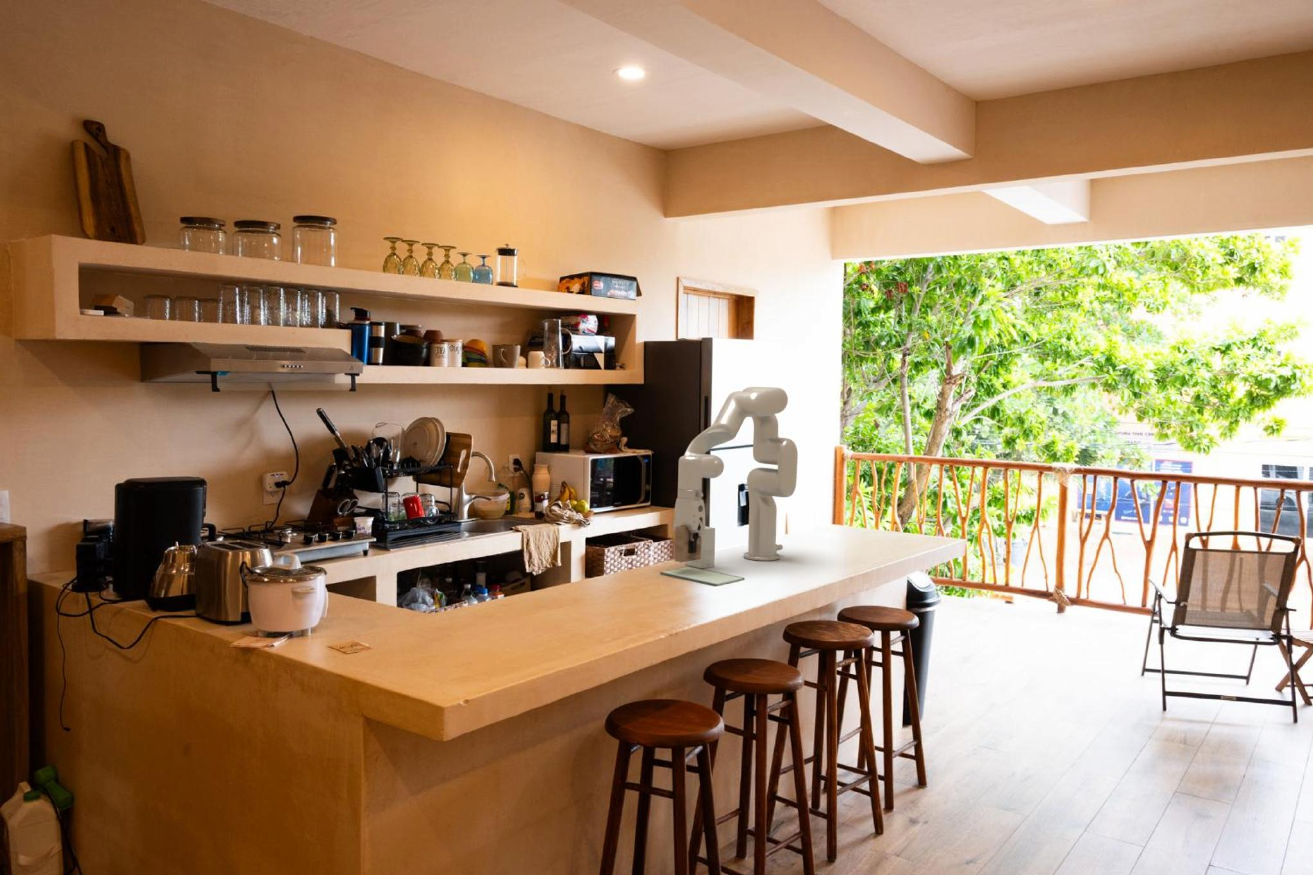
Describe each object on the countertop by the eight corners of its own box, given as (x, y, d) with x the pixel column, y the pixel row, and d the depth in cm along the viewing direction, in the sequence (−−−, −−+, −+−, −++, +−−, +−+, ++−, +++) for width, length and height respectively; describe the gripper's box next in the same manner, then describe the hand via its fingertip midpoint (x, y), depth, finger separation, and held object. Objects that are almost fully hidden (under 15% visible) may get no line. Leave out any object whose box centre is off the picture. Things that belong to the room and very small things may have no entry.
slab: (693, 557, 312) (694, 523, 311) (700, 559, 310) (701, 525, 309) (674, 560, 305) (675, 526, 305) (681, 562, 303) (682, 527, 303)
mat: (689, 568, 317) (689, 566, 317) (744, 579, 301) (744, 577, 301) (660, 574, 307) (660, 572, 307) (715, 586, 291) (715, 584, 291)
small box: (714, 566, 321) (715, 527, 320) (700, 568, 317) (701, 529, 316) (698, 562, 327) (699, 524, 326) (684, 564, 323) (685, 526, 322)
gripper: (716, 496, 303) (715, 554, 304) (678, 491, 315) (677, 547, 316) (701, 498, 298) (699, 557, 299) (662, 492, 309) (661, 549, 310)
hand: (688, 551), depth 307 cm, fingers closed on slab, 3 cm apart
